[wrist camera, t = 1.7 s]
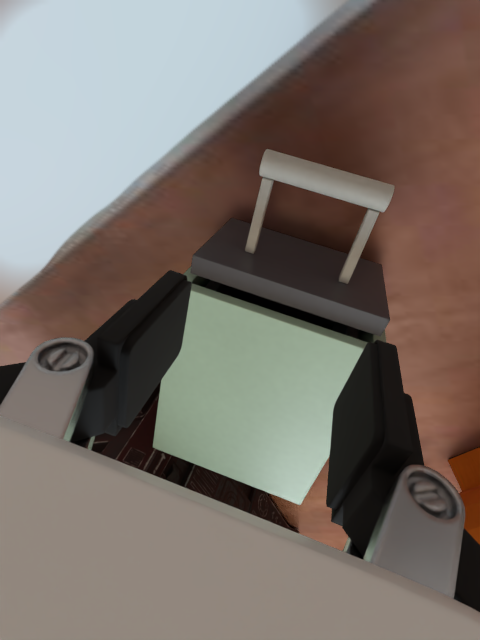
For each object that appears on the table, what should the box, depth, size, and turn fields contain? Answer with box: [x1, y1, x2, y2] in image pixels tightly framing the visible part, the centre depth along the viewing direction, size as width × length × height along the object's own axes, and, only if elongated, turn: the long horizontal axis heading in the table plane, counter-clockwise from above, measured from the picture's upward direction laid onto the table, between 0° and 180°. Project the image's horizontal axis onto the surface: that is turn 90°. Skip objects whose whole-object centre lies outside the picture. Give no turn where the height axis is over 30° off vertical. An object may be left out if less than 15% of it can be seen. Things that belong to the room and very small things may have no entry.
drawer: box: [190, 149, 395, 339], centre depth 26 cm, size 20×11×8 cm, turn 167°
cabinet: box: [153, 267, 386, 505], centre depth 29 cm, size 16×13×10 cm
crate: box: [91, 381, 299, 533], centre depth 38 cm, size 35×19×21 cm, turn 28°
